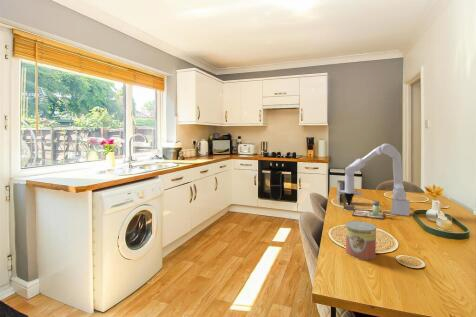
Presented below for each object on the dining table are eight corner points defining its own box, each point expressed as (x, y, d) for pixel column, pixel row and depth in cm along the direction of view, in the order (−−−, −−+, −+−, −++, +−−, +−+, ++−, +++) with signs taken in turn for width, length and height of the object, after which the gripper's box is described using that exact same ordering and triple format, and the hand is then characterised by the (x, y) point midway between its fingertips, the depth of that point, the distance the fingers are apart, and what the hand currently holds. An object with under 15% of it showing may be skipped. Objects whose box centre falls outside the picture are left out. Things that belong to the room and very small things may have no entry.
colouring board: (383, 214, 162) (383, 212, 161) (383, 219, 151) (383, 217, 151) (354, 210, 170) (354, 209, 170) (352, 215, 159) (352, 214, 159)
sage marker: (379, 214, 158) (379, 201, 157) (378, 215, 155) (379, 202, 154) (372, 213, 160) (373, 200, 159) (372, 215, 157) (372, 201, 156)
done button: (352, 207, 175) (352, 204, 175) (351, 208, 172) (351, 205, 172) (346, 206, 176) (346, 204, 176) (346, 208, 174) (346, 205, 173)
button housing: (354, 208, 175) (354, 204, 175) (353, 210, 170) (353, 206, 170) (344, 207, 178) (344, 203, 178) (343, 209, 173) (343, 205, 173)
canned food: (342, 255, 108) (342, 226, 107) (349, 245, 117) (350, 219, 116) (372, 262, 101) (373, 232, 100) (378, 252, 110) (378, 224, 109)
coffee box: (349, 202, 192) (349, 180, 191) (352, 204, 186) (352, 181, 185) (336, 201, 193) (336, 180, 192) (339, 204, 187) (339, 181, 186)
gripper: (336, 184, 173) (336, 205, 174) (361, 186, 166) (360, 207, 167) (338, 183, 179) (338, 202, 180) (362, 184, 172) (361, 205, 173)
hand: (349, 204), depth 174 cm, fingers closed, pressing on done button
